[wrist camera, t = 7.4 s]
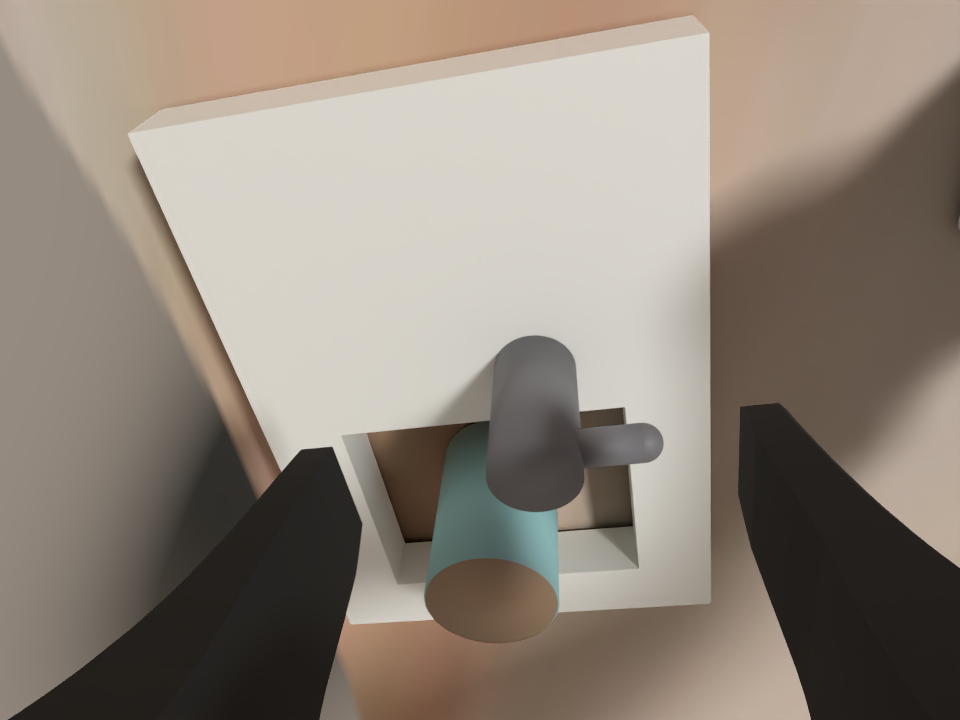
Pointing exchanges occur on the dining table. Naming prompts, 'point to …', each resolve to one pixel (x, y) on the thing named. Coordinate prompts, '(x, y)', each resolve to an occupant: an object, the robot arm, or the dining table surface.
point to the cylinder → (488, 554)
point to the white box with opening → (474, 285)
